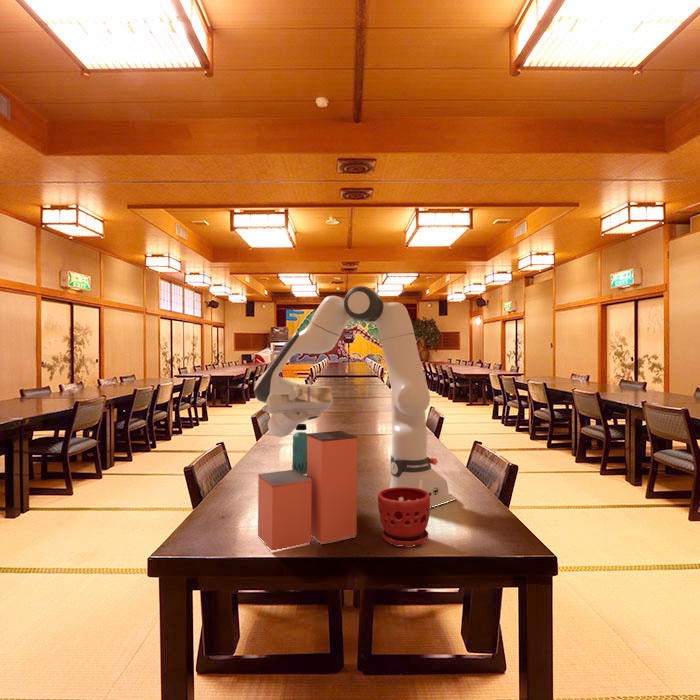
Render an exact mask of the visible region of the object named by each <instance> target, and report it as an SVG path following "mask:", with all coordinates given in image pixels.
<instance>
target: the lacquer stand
mask: <svg viewBox="0 0 700 700" xmlns="http://www.w3.org/2000/svg"><path fill="white" fill-rule="evenodd" d="M257 479H258V483H257V484H258V488H257V489H258V491H257V496H258V499H257V537H258V536H259V537H260V538H261V539H262V540H263V541H264V542H265V543H266V545H267V546H268V547H269V548H270V549H271V550H277V549H282V548H287V547H292V546H296V545H300V544H304V543H308V542H311V543H312V537H311V535H312V536H314V537H315V538H316V539H317V540H319V541H320V542H326V541H331V540H334V539H339V538H344V537H348V536H354V535H358V532H357V531H358V529H357V524H358V520H357V517H358V514H357V513H358V509H357V508H358V435H354V434H352V433H349V432H346V431H343V430H335V431H334V430H333V431H323V432H321V431H320V432H312V433H311V432H310V433H307V474H306V475H305V474H304V475H303V474H301V473H300V472H298V471H296V470H292V469H289V470H281V471H273V472H265V473H264V472H263V473H258V478H257ZM259 537H258V538H259ZM260 538H259V539H260Z"/></svg>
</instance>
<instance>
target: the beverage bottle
mask: <svg viewBox="0 0 700 700" xmlns="http://www.w3.org/2000/svg"><path fill="white" fill-rule="evenodd" d="M307 429H308V428H307V424H306V423H300V424H298V425H297V427H296V428H295V430H296V431H298V432H295V433H294V434H293V435H292V445H291V446H292V461H291V462H292V463H291V464H292V465H291V470H296V471H298V472H300V473H301V474H303V475H304V476H305V475H307V434H308V433H307V432H305V431H306V430H307Z"/></svg>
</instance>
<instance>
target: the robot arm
mask: <svg viewBox="0 0 700 700" xmlns="http://www.w3.org/2000/svg"><path fill="white" fill-rule="evenodd" d="M351 321H358V322H361V323H371V322H372V323H374V324H375V326H376V328H377V331H378V335H379V340H380V345H381V349H382V355H383V359H384V364H385V368H386V372H387V375H388V379H389V384H390V388H391V393H390V395H391V399H390V400H391V403H390V404H391V432H392V433H391V434H392V435H391V438H392V441H391V453H392V454H391V456H390V473H391V474H390V482H389V488H395V487H411V488H418V489H422V490H425V491H426V492H428V493H429V495H430V507H432V506H435V505H438V504H441V503H444V502H447V501H450V500H453V499H456V500H457V497H456V496H455V495H454V494H453V493H452V492H450V491H449V486H448V485H449V484H448V481H447V480H446V479H445V478H444V477H443V476H442V475H441V474H440V473H438V471H436V470H434V468H432V465H434V466H435V465H436V466H437V464H438V463H439V461H438V459H437V458H434V457H429V456H428V430H427V420H426V410H427V409H428V407H429V406H430V404H431V403H430V402H431V394H430V390H429V387H428V382H427V378H426V374H425V371H424V367H423V365H422V361H421V358H420V355H419V354H420V353H419V349H418V344H417V340H416V339H417V338H416V336H415V335H416V334H415V330H414V326H413V323H412V320H411V317H410V315H409V312H408V310H407V308H406V306H405V305H404V304H403V303H401V302H397V301H395V302H394V301H391V302H384V301H383V299H382V297H381V296H380V295H379V294H378V292H377V291H375V290H374V289H372V288H370V287H367V286H363V285H362V286H361V285H359V286H354V287H352V288H351V289H350V290H348V291H347V293H346V295H345V296H344V297H343V298H342V297H340V296H338V295H328V296H326V297H324V298H323V300H322V301H321V303H320V304H319V305H318V307H317V308H316V310H315V312H314V314H313V315H312V317H311V319H310V321H309V323H308V325H307V326H306V327H305V328H304V329H303V330H301V331H295V332H294V333H292V334H291V335H290V337H289V338H288V339H287V341H286V342H285V343H284V344H283V346H282V347H281V349H280V350H279V351H278V353H277V354H276V356H275V357H274V358H273V360H272V361H271V362H270V363H269V366H268V367H267V368H266V369H265V371H264V372H263V373H262V374H261V375H260V376H259V377H258V379H257V380H256V382H255V384H254V386H253V387H254V388H253V392H254V395H255V397H256V399H257V400H258V401H259V402H262V403H265V405H263V406H262V409H261V410H262V412H265V413H268V414H271V416H270V418H269V420H268V423H267V429H268V431H269V433H271V435H273V436H274V437H276V438H277V437H278V438H285V437H287V436H289V435H290V434H291V433H292V432H293V431H294V430H296V427H297V425H298V424H303V423H305V422H306V421H309V420H310V421H311V420H314V419H319V418H321V416H322V413H324V412H326V411H327V410H328V409H329V408H330V407H331V406H332V405H333V402H334V398H333V394H332V393H331V402H325V403H316V402H311V401H306V400H301V399H296V398H297V397H299V396H301V395H302V389H296V390H295V391H294V385H298V384H299V383H297V382H293V381H291V380H289V379H286V378H284V377H281V376H280V374H281V372H282V370H283V369H284V367H285V366H286V365H287V363H289V360H290V359H291V358H292V357H293V356H296V355H299V354H313V355H314V354H316V355H317V354H318V355H319V354H325V353H328V352H330V351H332V350H333V349H334V348H335V347H336V345H337V343H338V342H339V340H340V338H341V335H342V333H343V331H344V329H345V328H346V326H347V324H349V322H351ZM417 500H418V499H417ZM399 501H403V497H400V498H399ZM407 501H411V500H407Z"/></svg>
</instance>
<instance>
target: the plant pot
mask: <svg viewBox="0 0 700 700" xmlns="http://www.w3.org/2000/svg"><path fill="white" fill-rule="evenodd" d="M400 497H403V501H399V498H400ZM417 499H418V500H417ZM407 500H411V501H407ZM377 504H378V505H377V507H378V512H379V519H380V523H381V525H382V528H383V530H382V532H381V534H382V535H381V536H382V538H383V539H384V540H385V542H387V543H388V542H389V544H390V543H392V544H395V545H403V546H413V545H419V544H421V545H423V544H424V543H426V542H427V541H428V539H429V532H428V530H427V527H428V524H429V519H430V513H431V509H430V495H429V493H428V492H426V491H425V490H422V489H418V488H411V487H395V488H390V487H389V488H384V489H382V490H381V491H379V492H378V494H377ZM422 543H423V544H422ZM392 544H391V545H392ZM419 546H420V545H419Z"/></svg>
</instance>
